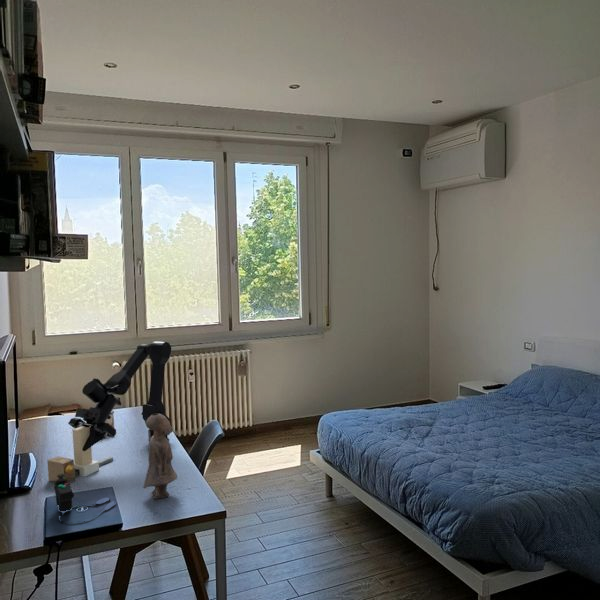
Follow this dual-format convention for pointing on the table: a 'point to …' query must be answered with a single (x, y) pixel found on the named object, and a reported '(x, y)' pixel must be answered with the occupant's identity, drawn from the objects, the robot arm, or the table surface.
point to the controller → (63, 493)
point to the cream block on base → (83, 452)
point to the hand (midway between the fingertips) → (79, 449)
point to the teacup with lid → (111, 420)
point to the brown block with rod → (67, 468)
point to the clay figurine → (159, 457)
